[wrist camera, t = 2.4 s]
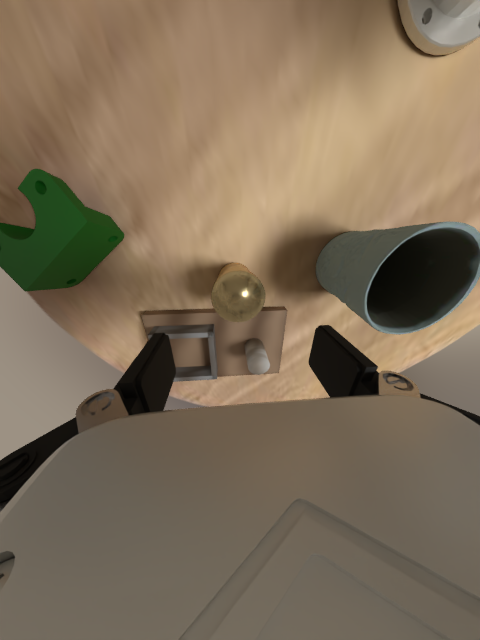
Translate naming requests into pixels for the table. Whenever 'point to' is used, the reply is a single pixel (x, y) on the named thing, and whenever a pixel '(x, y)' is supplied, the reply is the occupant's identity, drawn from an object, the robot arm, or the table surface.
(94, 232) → the clamp
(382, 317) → the grey-green cup
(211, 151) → the table surface
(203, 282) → the table surface
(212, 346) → the fitting board
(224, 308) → the brass door knob
